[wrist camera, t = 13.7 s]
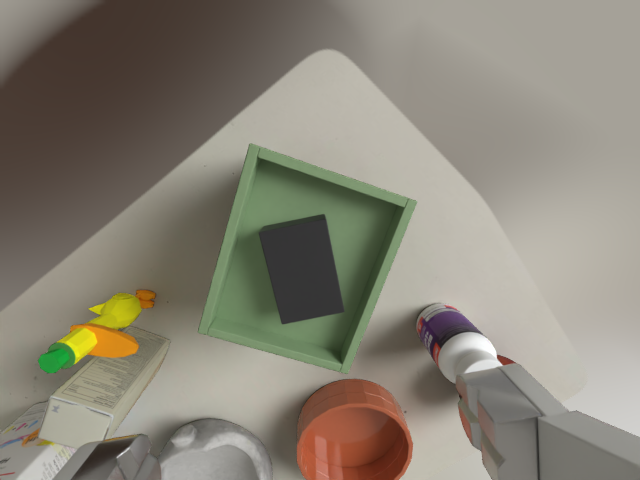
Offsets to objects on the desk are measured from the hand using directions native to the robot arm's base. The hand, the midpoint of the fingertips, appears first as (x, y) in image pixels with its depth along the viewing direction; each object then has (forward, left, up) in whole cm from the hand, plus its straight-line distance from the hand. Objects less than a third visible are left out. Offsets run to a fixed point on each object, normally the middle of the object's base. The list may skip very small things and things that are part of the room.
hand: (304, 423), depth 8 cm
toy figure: (+13, -14, -25) cm, 32 cm away
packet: (0, 0, -13) cm, 13 cm away
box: (+19, -13, -25) cm, 34 cm away
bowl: (+22, +13, -25) cm, 36 cm away
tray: (0, 0, -25) cm, 25 cm away
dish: (+32, -1, -25) cm, 41 cm away
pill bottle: (+6, +18, -25) cm, 32 cm away
